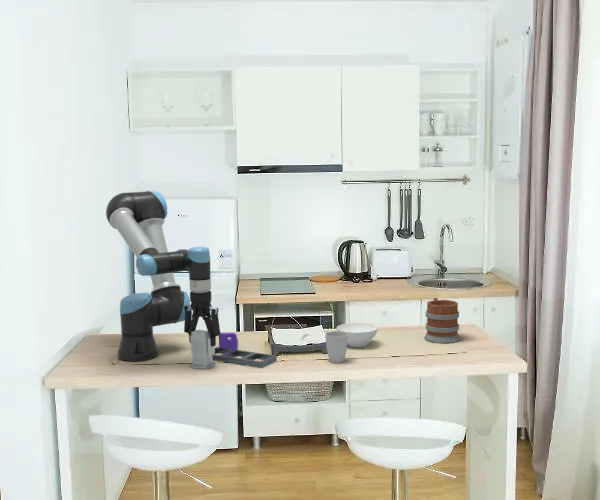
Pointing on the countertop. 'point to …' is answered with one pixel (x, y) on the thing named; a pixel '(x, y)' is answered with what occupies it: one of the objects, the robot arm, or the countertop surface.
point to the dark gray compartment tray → (243, 357)
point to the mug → (442, 321)
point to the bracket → (228, 340)
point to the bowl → (358, 333)
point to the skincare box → (200, 348)
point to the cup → (336, 345)
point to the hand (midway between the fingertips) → (202, 353)
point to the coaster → (203, 366)
